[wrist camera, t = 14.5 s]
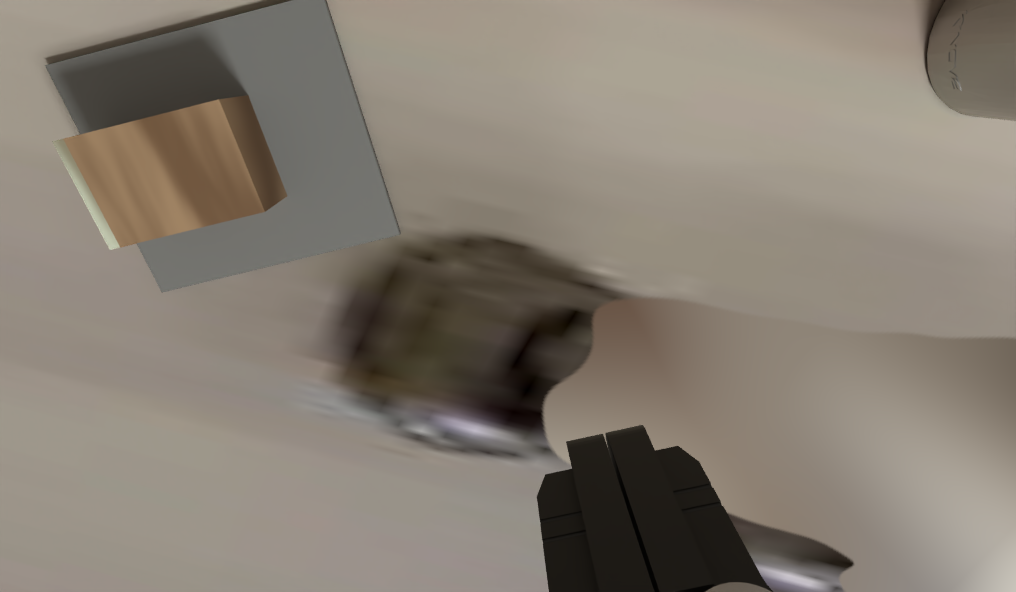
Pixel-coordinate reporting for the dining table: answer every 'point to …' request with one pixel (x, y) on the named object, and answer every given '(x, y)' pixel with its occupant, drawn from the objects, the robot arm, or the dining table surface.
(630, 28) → the dining table surface
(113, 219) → the block
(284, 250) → the mat
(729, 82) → the dining table surface
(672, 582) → the robot arm
